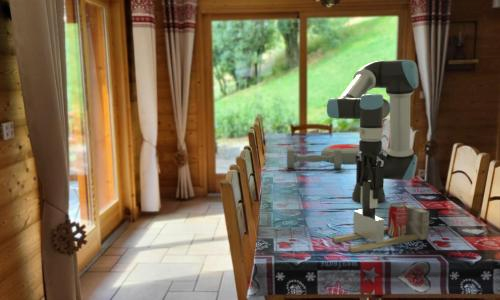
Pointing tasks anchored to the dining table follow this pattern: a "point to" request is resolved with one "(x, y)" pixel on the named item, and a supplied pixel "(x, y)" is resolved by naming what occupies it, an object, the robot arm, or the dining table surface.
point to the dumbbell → (314, 158)
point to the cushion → (343, 152)
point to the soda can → (397, 219)
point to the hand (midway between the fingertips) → (368, 205)
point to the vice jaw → (368, 218)
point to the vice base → (414, 227)
